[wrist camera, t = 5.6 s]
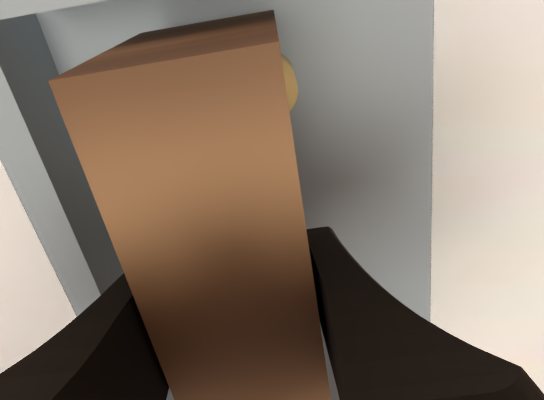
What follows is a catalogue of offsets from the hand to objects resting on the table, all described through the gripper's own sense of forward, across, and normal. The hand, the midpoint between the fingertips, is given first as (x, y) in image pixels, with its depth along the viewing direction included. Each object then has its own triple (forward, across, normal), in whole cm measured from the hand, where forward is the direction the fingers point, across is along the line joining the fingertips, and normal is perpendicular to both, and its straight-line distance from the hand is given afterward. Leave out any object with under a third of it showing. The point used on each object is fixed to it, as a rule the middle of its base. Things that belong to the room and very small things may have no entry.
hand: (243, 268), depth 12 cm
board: (+3, 0, 0) cm, 3 cm away
